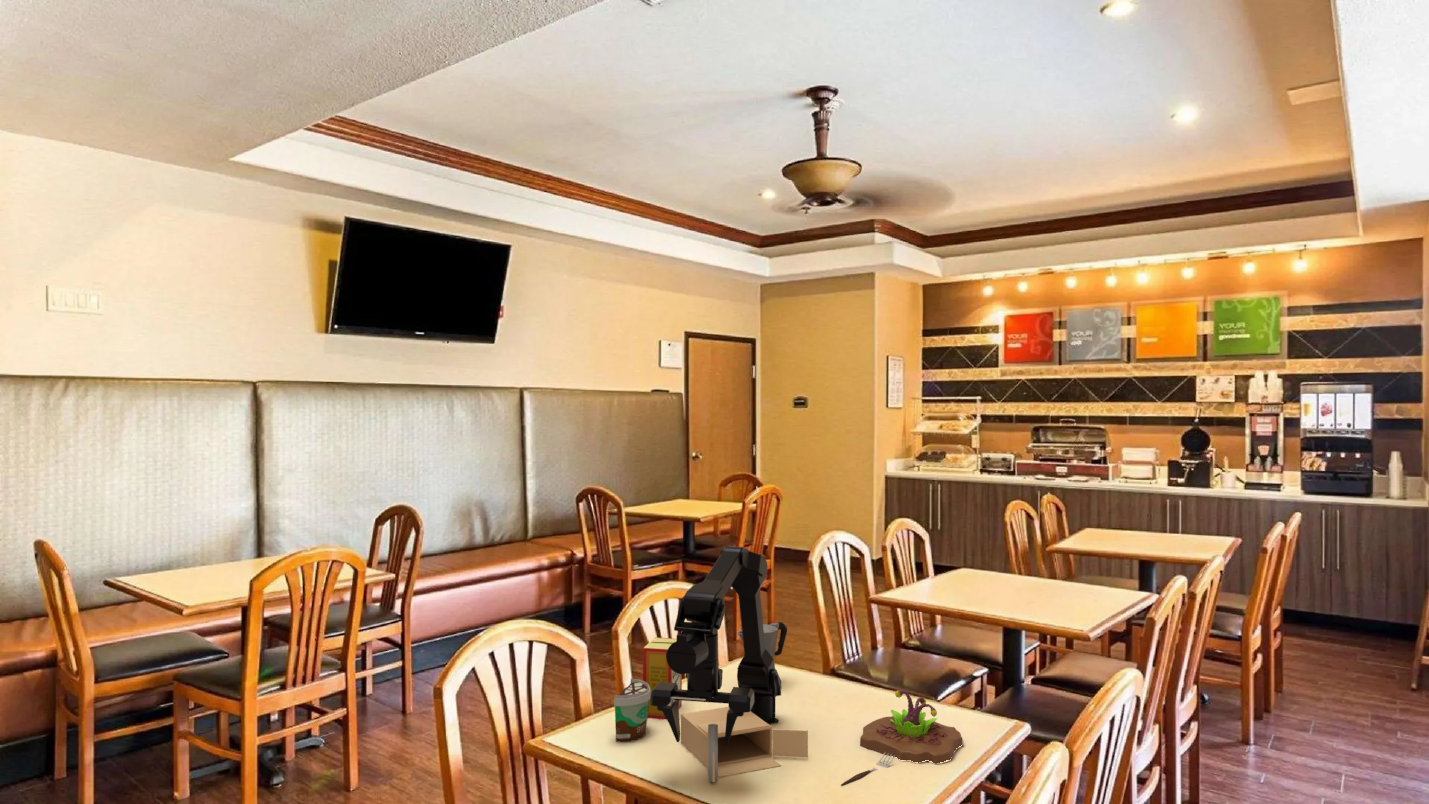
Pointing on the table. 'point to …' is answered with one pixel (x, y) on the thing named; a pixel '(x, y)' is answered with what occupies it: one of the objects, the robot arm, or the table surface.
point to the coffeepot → (772, 637)
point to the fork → (868, 770)
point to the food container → (632, 711)
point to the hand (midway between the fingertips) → (702, 743)
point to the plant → (911, 735)
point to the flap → (712, 752)
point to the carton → (740, 741)
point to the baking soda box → (658, 670)
